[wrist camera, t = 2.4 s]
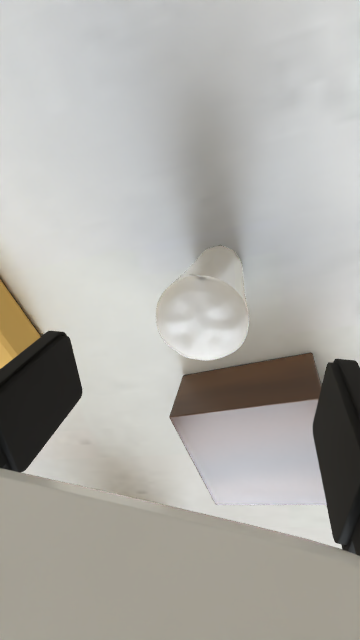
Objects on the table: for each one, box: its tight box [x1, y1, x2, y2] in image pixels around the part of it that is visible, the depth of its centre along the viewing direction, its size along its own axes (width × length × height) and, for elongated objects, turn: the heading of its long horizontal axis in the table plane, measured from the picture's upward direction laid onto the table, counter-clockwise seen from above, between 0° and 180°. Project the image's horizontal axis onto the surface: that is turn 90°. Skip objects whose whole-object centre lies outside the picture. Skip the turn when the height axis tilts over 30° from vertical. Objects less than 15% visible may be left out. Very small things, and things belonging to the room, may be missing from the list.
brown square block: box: [169, 353, 327, 505], centre depth 25 cm, size 11×11×5 cm
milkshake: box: [156, 245, 249, 361], centre depth 17 cm, size 5×5×10 cm
